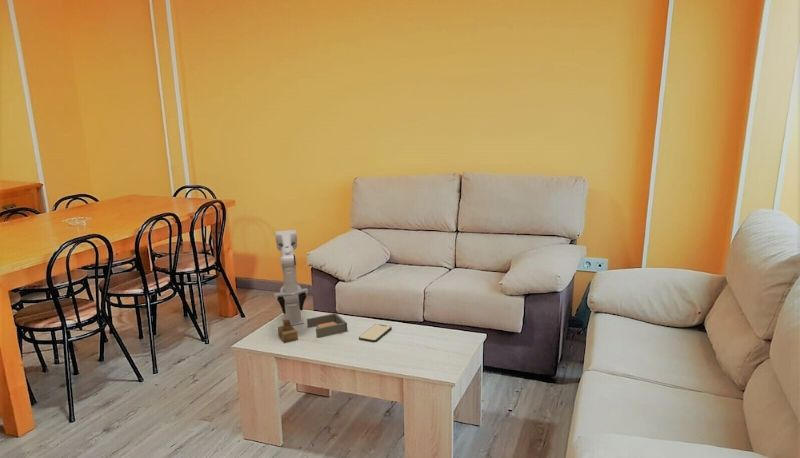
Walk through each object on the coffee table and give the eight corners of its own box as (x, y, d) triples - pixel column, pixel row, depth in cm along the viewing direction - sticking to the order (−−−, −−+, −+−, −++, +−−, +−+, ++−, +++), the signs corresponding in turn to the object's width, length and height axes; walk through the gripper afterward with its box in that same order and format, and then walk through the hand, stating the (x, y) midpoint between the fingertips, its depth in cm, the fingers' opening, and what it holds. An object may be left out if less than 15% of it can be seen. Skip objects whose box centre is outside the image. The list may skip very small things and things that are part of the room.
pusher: (278, 335, 261) (276, 318, 259) (291, 332, 263) (290, 315, 262) (284, 343, 252) (282, 326, 250) (298, 340, 255) (296, 323, 253)
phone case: (375, 344, 249) (392, 329, 263) (375, 340, 249) (392, 326, 262) (357, 341, 253) (375, 326, 267) (357, 337, 253) (375, 323, 266)
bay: (307, 327, 268) (306, 318, 267) (336, 321, 274) (336, 313, 273) (317, 337, 256) (316, 329, 255) (347, 331, 262) (346, 322, 261)
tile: (317, 329, 267) (316, 325, 267) (333, 325, 270) (333, 321, 270) (322, 335, 260) (322, 331, 260) (339, 331, 263) (339, 327, 263)
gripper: (276, 286, 250) (278, 317, 252) (309, 281, 256) (311, 311, 259) (272, 282, 256) (274, 312, 259) (304, 277, 263) (306, 306, 265)
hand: (292, 311), depth 259 cm, fingers open, 7 cm apart
